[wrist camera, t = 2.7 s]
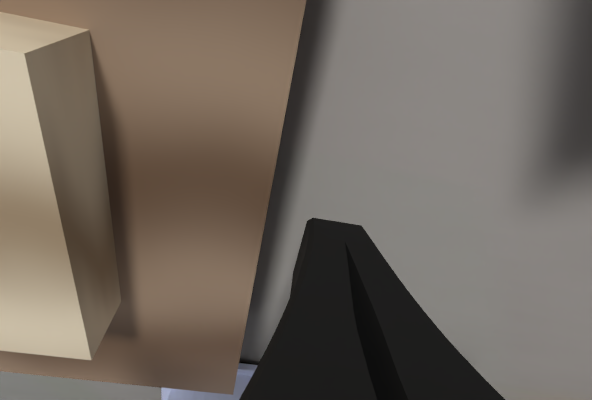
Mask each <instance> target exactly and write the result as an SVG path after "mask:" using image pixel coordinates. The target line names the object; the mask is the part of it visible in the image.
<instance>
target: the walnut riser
mask: <svg viewBox="0 0 592 400" xmlns="http://www.w3.org/2000/svg"><path fill="white" fill-rule="evenodd" d="M305 5H306V0H0V12H3V13H8V14H13V15H18V16H23V17H28V18H33V19H38V20H43V21H48V22H53V23H58V24H63V25H68V26H73V27H78V28H83V29H88V30H89V32H90V41H91V49H92V58H93V66H94V75H95V83H96V92H97V100H98V108H99V117H100V125H101V134H102V142H103V151H104V159H105V168H106V176H107V184H108V193H109V201H110V210H111V218H112V227H113V235H114V244H115V252H116V260H117V269H118V277H119V286H120V294H121V303H120V305H119V307H118V309H117V311H116V313H115V315H114V317H113V319H112V321H111V323H110V325H109V327H108V329H107V331H106V333H105V335H104V337H103V339H102V341H101V343H100V345H99V347H98V349H97V351H96V352H95V354H94V356H93V358H92V360H83V359H74V358H65V357H55V356H46V355H37V354H27V353H18V352H9V351H0V371H4V372H13V373H23V374H33V375H43V376H53V377H63V378H72V379H82V380H92V381H102V382H112V383H122V384H132V385H141V386H151V387H161V388H171V389H181V390H191V391H200V392H210V393H220V394H230V395H233V392H234V387H235V381H236V376H237V371H238V365H239V360H240V354H241V349H242V344H243V338H244V333H245V328H246V322H247V317H248V311H249V306H250V301H251V295H252V290H253V285H254V279H255V274H256V268H257V263H258V258H259V252H260V247H261V242H262V236H263V231H264V225H265V220H266V215H267V209H268V204H269V199H270V193H271V188H272V182H273V177H274V172H275V166H276V161H277V156H278V150H279V145H280V139H281V134H282V129H283V123H284V118H285V113H286V107H287V102H288V96H289V91H290V86H291V80H292V75H293V70H294V64H295V59H296V53H297V48H298V43H299V37H300V32H301V27H302V21H303V16H304V10H305Z"/></svg>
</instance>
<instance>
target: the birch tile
mask: <svg viewBox="0 0 592 400" xmlns="http://www.w3.org/2000/svg"><path fill="white" fill-rule="evenodd" d="M120 303H121V294H120V286H119V277H118V269H117V260H116V252H115V244H114V235H113V227H112V218H111V210H110V201H109V193H108V184H107V176H106V168H105V159H104V151H103V142H102V134H101V125H100V117H99V108H98V100H97V92H96V83H95V75H94V66H93V58H92V49H91V41H90V32H89V30H88V29H83V28H78V27H73V26H68V25H63V24H58V23H53V22H48V21H43V20H38V19H33V18H28V17H23V16H18V15H13V14H8V13H3V12H0V351H9V352H18V353H27V354H37V355H46V356H55V357H65V358H74V359H83V360H92V358H93V356H94V354H95V352H96V351H97V349H98V347H99V345H100V343H101V341H102V339H103V337H104V335H105V333H106V331H107V329H108V327H109V325H110V323H111V321H112V319H113V317H114V315H115V313H116V311H117V309H118V307H119V305H120Z"/></svg>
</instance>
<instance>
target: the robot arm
mask: <svg viewBox="0 0 592 400" xmlns="http://www.w3.org/2000/svg"><path fill="white" fill-rule="evenodd" d="M161 396H162V400H505V399H504V398H503V397H502V396H501V395H500V394H499V393H498V392H497V391H496V390H495V389H494V388H493V387H492V386H491V385H490V384H489V383H488V382H487V381H486V380H485V379H484V378H483V377H482V376H481V375H480V374H479V373H478V372H477V371H476V370H475V369H474V367H473V366H472V365H471V364H470V363H469V362H468V361H467V360H466V359H465V358H464V357H463V356H462V355H461V354H460V353H459V352H458V351H457V349H456V348H455V347H454V346H453V345H452V344H451V343H450V342H449V340H448V339H447V338H446V337H445V336H444V335H443V334H442V332H441V331H440V330H439V329H438V328H437V326H436V325H435V324H434V323H433V322H432V320H431V319H430V318H429V317H428V316H427V314H426V313H425V312H424V311H423V310H422V308H421V307H420V306H419V304H418V303H417V302H416V301H415V299H414V298H413V297H412V296H411V294H410V293H409V292H408V290H407V289H406V288H405V286H404V285H403V284H402V282H401V281H400V280H399V278H398V277H397V276H396V274H395V273H394V271H393V270H392V269H391V267H390V266H389V264H388V263H387V262H386V260H385V259H384V257H383V256H382V254H381V253H380V252H379V250H378V249H377V247H376V246H375V244H374V243H373V242H372V240H371V239H370V237H369V236H368V234H367V233H366V231H365V230H364V229H363V227H362V226H360V225H354V224H348V223H341V222H335V221H329V220H323V219H316V218H312V219H310V220H308V221H307V224H306V227H305V231H304V235H303V238H302V242H301V246H300V249H299V253H298V257H297V260H296V264H295V268H294V272H293V279H292V288H291V294H290V299H289V301H288V304H287V306H286V309H285V311H284V313H283V316H282V318H281V320H280V322H279V324H278V327H277V329H276V331H275V333H274V335H273V337H272V339H271V341H270V343H269V345H268V347H267V349H266V351H265V353H264V355H263V357H262V359H261V360H260V362H259V364H258V365H253V364H244V363H239V365H238V371H237V376H236V381H235V387H234V392H233V395H230V394H220V393H210V392H200V391H191V390H181V389H171V388H161Z"/></svg>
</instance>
